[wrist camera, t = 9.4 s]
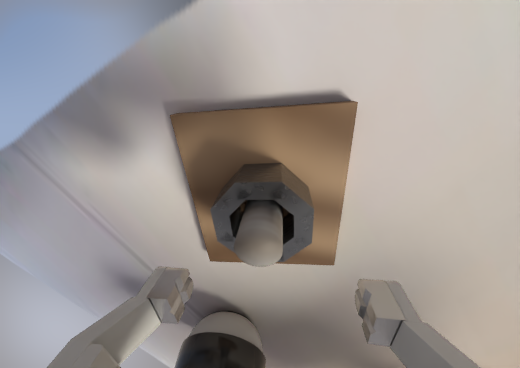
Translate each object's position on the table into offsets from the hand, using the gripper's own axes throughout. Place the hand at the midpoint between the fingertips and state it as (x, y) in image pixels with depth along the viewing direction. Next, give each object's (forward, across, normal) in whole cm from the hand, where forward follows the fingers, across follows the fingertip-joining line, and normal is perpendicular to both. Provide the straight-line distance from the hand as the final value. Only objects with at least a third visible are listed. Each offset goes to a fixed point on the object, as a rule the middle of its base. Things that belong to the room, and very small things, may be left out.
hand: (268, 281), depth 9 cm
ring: (+7, +1, 0) cm, 7 cm away
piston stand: (+8, +1, 0) cm, 8 cm away
